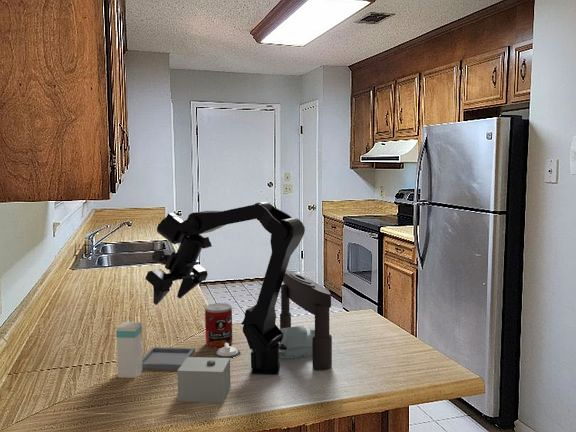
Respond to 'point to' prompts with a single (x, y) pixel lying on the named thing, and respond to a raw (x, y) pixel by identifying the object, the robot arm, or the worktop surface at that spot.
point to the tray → (166, 358)
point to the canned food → (218, 324)
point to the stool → (297, 337)
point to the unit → (204, 379)
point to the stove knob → (227, 352)
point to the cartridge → (129, 349)
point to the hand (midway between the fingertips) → (167, 300)
